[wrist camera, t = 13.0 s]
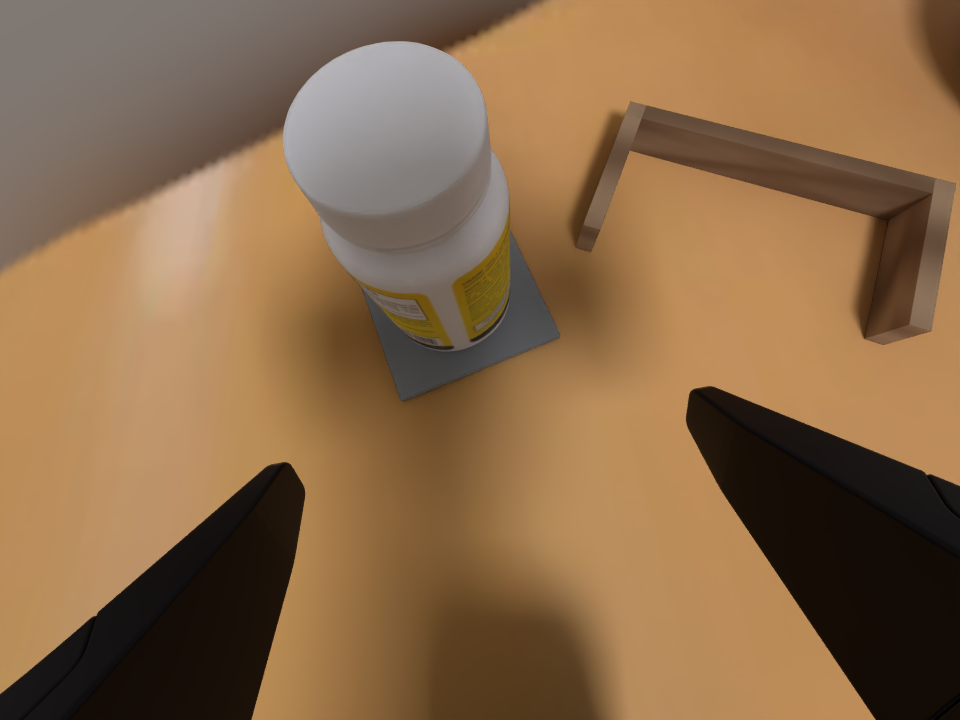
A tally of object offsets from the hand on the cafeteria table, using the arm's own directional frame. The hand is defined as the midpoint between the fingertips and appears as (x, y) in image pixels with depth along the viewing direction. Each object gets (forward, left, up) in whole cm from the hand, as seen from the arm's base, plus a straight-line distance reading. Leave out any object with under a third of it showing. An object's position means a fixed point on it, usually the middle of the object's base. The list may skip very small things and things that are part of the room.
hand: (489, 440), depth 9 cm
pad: (+10, -1, -14) cm, 17 cm away
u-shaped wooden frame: (+6, -18, -14) cm, 24 cm away
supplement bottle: (+9, -1, -13) cm, 16 cm away
